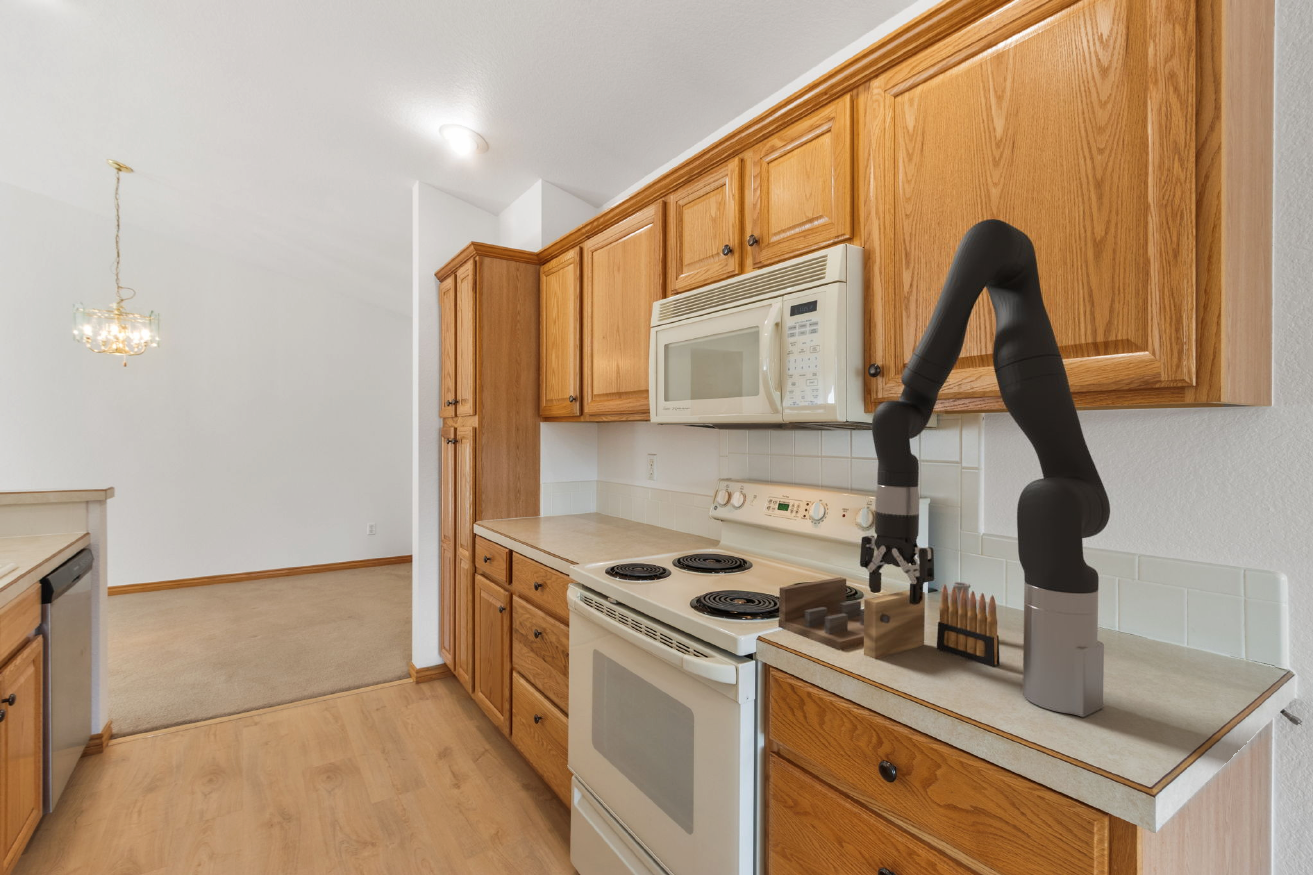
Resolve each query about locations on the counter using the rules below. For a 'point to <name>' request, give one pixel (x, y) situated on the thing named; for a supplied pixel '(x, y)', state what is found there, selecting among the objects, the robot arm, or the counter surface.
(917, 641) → the door
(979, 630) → the ammunition clip
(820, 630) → the brown wooden base
